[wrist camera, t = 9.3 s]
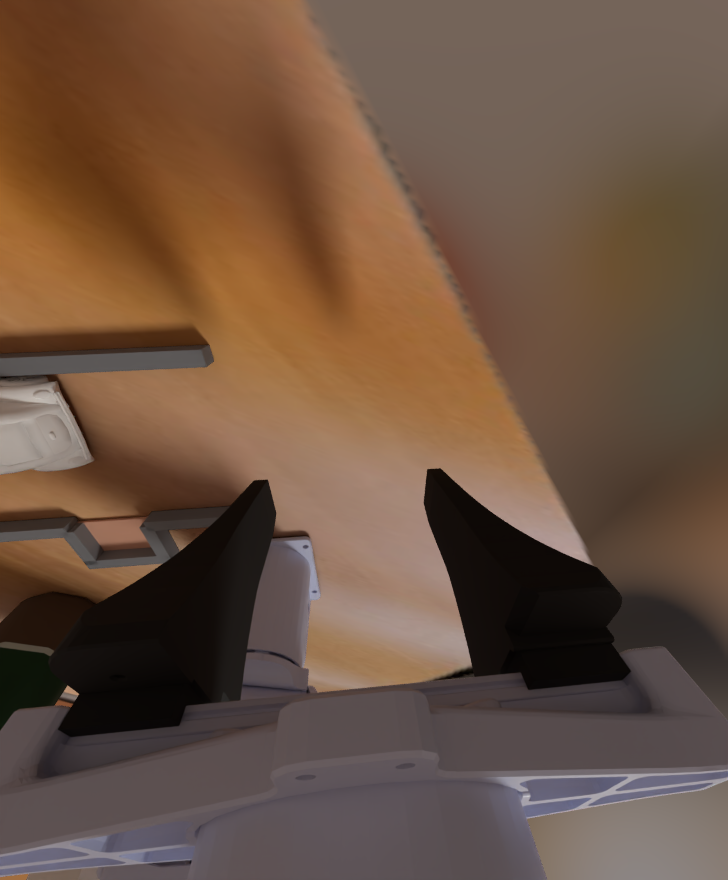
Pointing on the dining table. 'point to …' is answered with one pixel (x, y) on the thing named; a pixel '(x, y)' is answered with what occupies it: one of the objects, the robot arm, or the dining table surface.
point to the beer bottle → (34, 650)
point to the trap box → (120, 536)
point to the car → (38, 427)
